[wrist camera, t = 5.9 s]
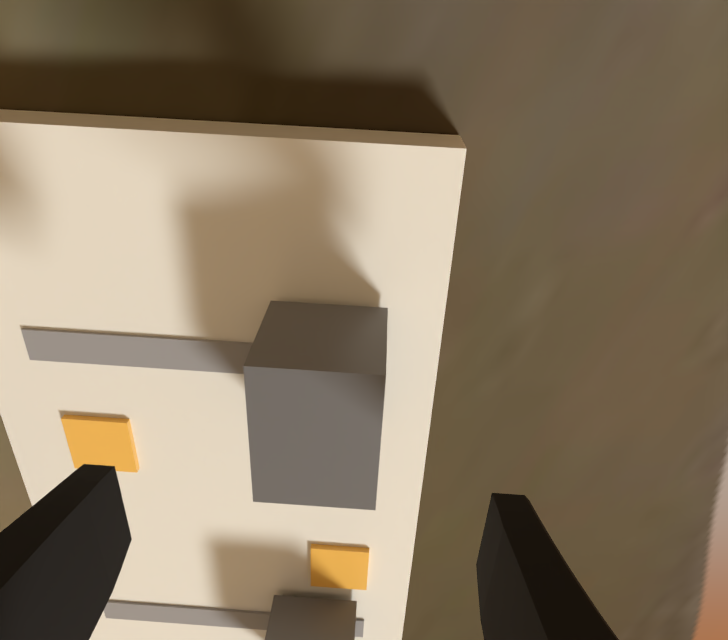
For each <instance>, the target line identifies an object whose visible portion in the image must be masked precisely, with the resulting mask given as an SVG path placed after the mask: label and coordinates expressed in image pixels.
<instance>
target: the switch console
mask: <svg viewBox="0 0 728 640" xmlns="http://www.w3.org/2000/svg"><path fill="white" fill-rule="evenodd" d="M465 156H466V147H465V145H464V143H463V141H462V139H461V137H460V135H448V134H431V133H413V132H395V131H378V130H360V129H342V128H325V127H307V126H290V125H272V124H254V123H237V122H219V121H201V120H184V119H166V118H149V117H131V116H113V115H96V114H78V113H60V112H43V111H25V110H8V109H0V414H1V417H2V420H3V423H4V426H5V429H6V431H7V434H8V437H9V440H10V443H11V446H12V449H13V452H14V455H15V458H16V460H17V463H18V466H19V469H20V472H21V475H22V478H23V481H24V484H25V487H26V489H27V492H28V495H29V498H30V501H31V504H32V506H33V505H34V504H36V503H37V502H38V501H39V500H40V499H42V498H43V497H44V496H45V495H46V494H48V493H49V492H50V491H51V490H52V489H54V488H55V487H56V486H57V485H58V484H60V483H61V482H62V481H63V480H65V479H66V478H67V477H68V476H69V475H71V474H72V473H73V472H74V471H75V470H77V469H78V468H79V467H80V466H82V465H83V464H91V465H105V466H115V469H116V473H117V478H118V482H119V486H120V490H121V495H122V499H123V503H124V508H125V512H126V516H127V520H128V525H129V529H130V533H131V538H132V540H131V543H130V546H129V548H128V551H127V554H126V557H125V560H124V563H123V566H122V568H121V571H120V574H119V576H118V579H117V582H116V584H115V587H114V590H113V592H112V594H111V596H110V598H109V600H108V603H107V605H106V607H105V609H104V611H103V613H102V615H101V617H100V619H99V621H98V623H97V625H96V627H95V629H94V631H93V633H92V635H91V637H90V639H89V640H265V636H266V631H267V627H268V622H269V617H270V612H271V607H272V602H273V597H274V595H283V596H297V597H310V598H324V599H338V600H351V601H357V608H356V623H355V639H354V640H402V632H403V625H404V617H405V610H406V602H407V594H408V587H409V579H410V572H411V564H412V557H413V549H414V542H415V534H416V526H417V519H418V511H419V504H420V496H421V489H422V481H423V474H424V466H425V458H426V451H427V443H428V436H429V428H430V421H431V413H432V406H433V398H434V390H435V383H436V375H437V368H438V360H439V353H440V345H441V338H442V330H443V322H444V315H445V307H446V300H447V292H448V285H449V277H450V270H451V262H452V254H453V247H454V239H455V232H456V224H457V217H458V209H459V202H460V194H461V186H462V179H463V171H464V164H465ZM271 300H272V301H287V302H303V303H319V304H335V305H351V306H367V307H383V308H388V319H387V360H386V383H385V396H384V409H383V421H382V434H381V447H380V459H379V472H378V485H377V497H376V510H363V509H349V508H335V507H320V506H306V505H292V504H278V503H263V502H253V494H252V481H251V467H250V453H249V439H248V425H247V411H246V397H245V384H244V370H243V365H244V363H245V361H246V358H247V356H248V354H249V351H250V349H251V346H252V344H253V342H254V339H255V337H256V334H257V332H258V330H259V327H260V325H261V323H262V320H263V318H264V315H265V313H266V311H267V308H268V306H269V304H270V301H271Z"/></svg>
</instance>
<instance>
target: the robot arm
mask: <svg viewBox="0 0 728 640" xmlns="http://www.w3.org/2000/svg"><path fill="white" fill-rule="evenodd" d="M131 540H132V538H131V533H130V529H129V525H128V520H127V516H126V512H125V508H124V503H123V499H122V495H121V490H120V486H119V482H118V478H117V473H116V469H115V466H105V465H91V464H83V465H82V466H80V467H79V468H78V469H77V470H75V471H74V472H73V473H72V474H71V475H69V476H68V477H67V478H66V479H65V480H63V481H62V482H61V483H60V484H58V485H57V486H56V487H55V488H54V489H52V490H51V491H50V492H49V493H48V494H46V495H45V496H44V497H43V498H42V499H40V500H39V501H38V502H37V503H36V504H34V505H33V506H32V507H31V508H30V509H28V510H27V511H26V512H25V513H24V514H22V515H21V516H20V517H19V518H18V519H16V520H15V521H14V522H13V523H12V524H10V525H9V526H8V527H7V528H5V529H4V530H3V531H2V532H0V640H89V639H90V637H91V635H92V633H93V631H94V629H95V627H96V625H97V623H98V621H99V619H100V617H101V615H102V613H103V611H104V609H105V607H106V605H107V603H108V600H109V598H110V596H111V594H112V592H113V590H114V587H115V584H116V582H117V579H118V576H119V574H120V571H121V568H122V566H123V563H124V560H125V557H126V554H127V551H128V548H129V546H130V543H131ZM476 566H477V580H478V594H479V605H480V616H481V624H482V630H483V635H484V640H619V639H618V638H617V637H616V635H615V634H614V633H613V631H612V630H611V628H610V627H609V626H608V624H607V623H606V621H605V620H604V619H603V617H602V616H601V614H600V613H599V611H598V610H597V609H596V607H595V606H594V604H593V603H592V601H591V600H590V598H589V597H588V595H587V594H586V592H585V591H584V589H583V588H582V586H581V585H580V583H579V582H578V580H577V579H576V577H575V576H574V574H573V573H572V571H571V570H570V568H569V566H568V565H567V563H566V562H565V560H564V558H563V557H562V555H561V554H560V552H559V550H558V549H557V547H556V546H555V544H554V542H553V541H552V539H551V537H550V536H549V534H548V532H547V531H546V529H545V527H544V526H543V524H542V522H541V520H540V519H539V517H538V515H537V513H536V512H535V510H534V508H533V506H532V505H531V503H530V501H529V500H528V499H527V497H526V496H525V495H513V494H499V493H492V495H491V500H490V505H489V509H488V514H487V518H486V523H485V527H484V532H483V536H482V541H481V546H480V550H479V555H478V559H477V564H476Z"/></svg>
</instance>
